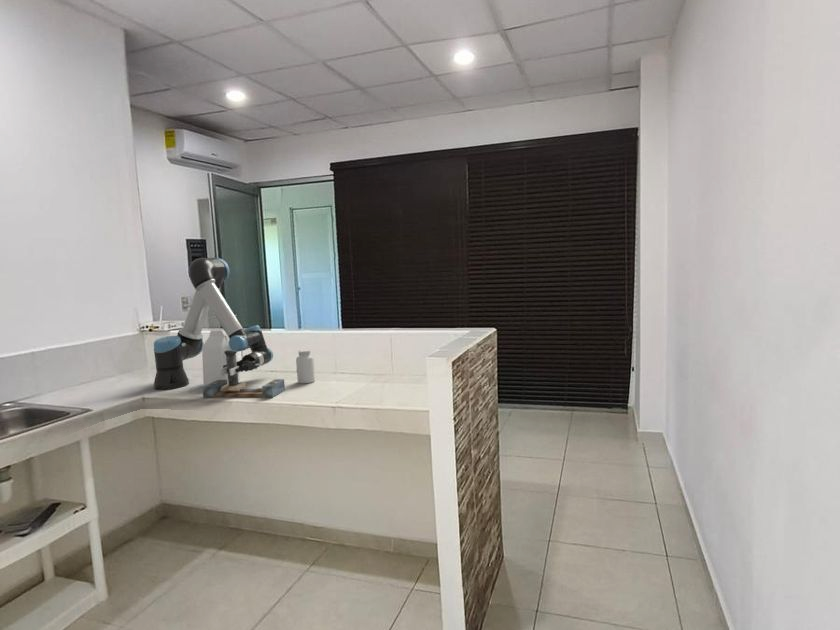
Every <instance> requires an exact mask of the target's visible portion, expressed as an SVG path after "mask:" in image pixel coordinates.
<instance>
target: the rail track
mask: <svg viewBox="0 0 840 630" xmlns="http://www.w3.org/2000/svg"><path fill="white" fill-rule="evenodd" d="M285 384H286V383H285V379H284V378H283V379H281V378H280V379H279V378H277V379H272V380H271V381H269V382H267V383H266V384H264V385H262V386H261V387H244V388H240V391H224V390H222V389H221V387H222V386H225V385H227V380H216V381H214V382H212V383H210V384H207V385H205V386H204V385H203V386H202V396H203V399H213V398H262V399H273V397H274V398H275V397H276V396H278V395H280V394H282V393H283V392H284V391H286V387H285Z"/></svg>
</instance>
